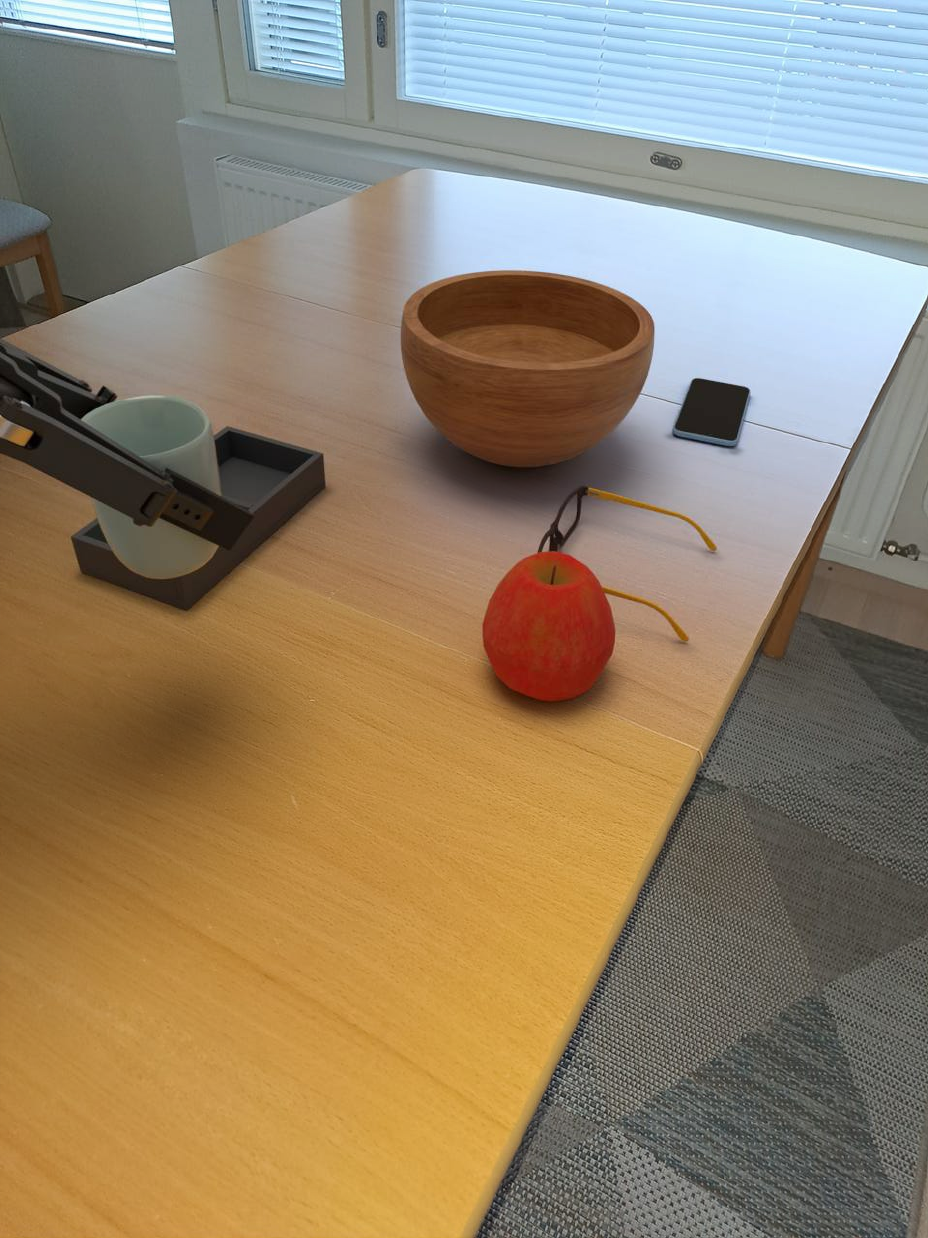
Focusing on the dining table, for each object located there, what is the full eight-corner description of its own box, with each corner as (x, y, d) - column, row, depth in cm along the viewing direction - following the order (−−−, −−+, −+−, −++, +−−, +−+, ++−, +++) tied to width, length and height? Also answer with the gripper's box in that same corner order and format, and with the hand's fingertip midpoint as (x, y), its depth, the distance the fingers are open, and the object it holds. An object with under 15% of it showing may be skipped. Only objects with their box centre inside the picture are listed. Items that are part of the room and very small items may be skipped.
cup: (196, 513, 65) (173, 383, 59) (252, 566, 61) (234, 432, 54) (90, 551, 61) (53, 417, 55) (141, 611, 57) (108, 472, 50)
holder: (80, 572, 80) (70, 536, 77) (231, 458, 95) (227, 425, 93) (187, 610, 76) (179, 574, 74) (325, 486, 92) (323, 453, 89)
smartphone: (752, 386, 111) (737, 442, 100) (750, 393, 112) (736, 449, 101) (691, 375, 113) (671, 428, 102) (690, 381, 113) (669, 435, 102)
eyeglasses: (568, 515, 90) (573, 480, 87) (716, 551, 86) (725, 516, 83) (522, 599, 79) (526, 562, 77) (687, 644, 76) (697, 607, 73)
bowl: (355, 437, 100) (349, 301, 90) (522, 378, 112) (533, 253, 103) (508, 545, 85) (521, 397, 76) (680, 463, 98) (710, 327, 88)
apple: (474, 628, 76) (480, 524, 69) (595, 626, 77) (613, 523, 70) (484, 717, 68) (493, 610, 62) (619, 714, 69) (642, 608, 62)
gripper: (-72, 316, 35) (320, 531, 53) (-159, 178, 48) (183, 390, 66) (-171, 471, 36) (246, 631, 54) (-231, 296, 49) (125, 473, 67)
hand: (211, 498), depth 60 cm, fingers closed on cup, 8 cm apart
